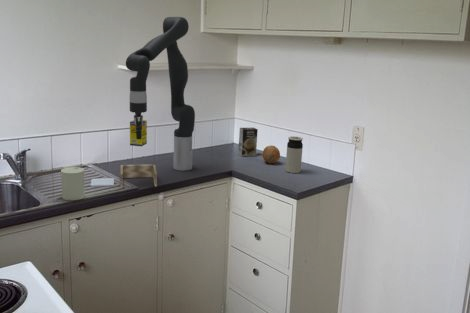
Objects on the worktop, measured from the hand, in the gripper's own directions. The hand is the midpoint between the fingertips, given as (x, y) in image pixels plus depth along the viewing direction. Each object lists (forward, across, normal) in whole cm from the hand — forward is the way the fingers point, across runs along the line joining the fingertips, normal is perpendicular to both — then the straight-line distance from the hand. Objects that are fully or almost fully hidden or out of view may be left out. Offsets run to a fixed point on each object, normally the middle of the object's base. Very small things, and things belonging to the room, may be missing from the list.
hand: (138, 137), depth 219 cm
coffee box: (+22, +48, -64) cm, 83 cm away
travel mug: (+22, +13, -80) cm, 84 cm away
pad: (+21, 0, +16) cm, 27 cm away
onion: (+22, +30, -73) cm, 82 cm away
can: (+21, -18, +27) cm, 39 cm away
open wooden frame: (+21, 0, 0) cm, 21 cm away
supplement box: (+4, 0, 0) cm, 4 cm away
